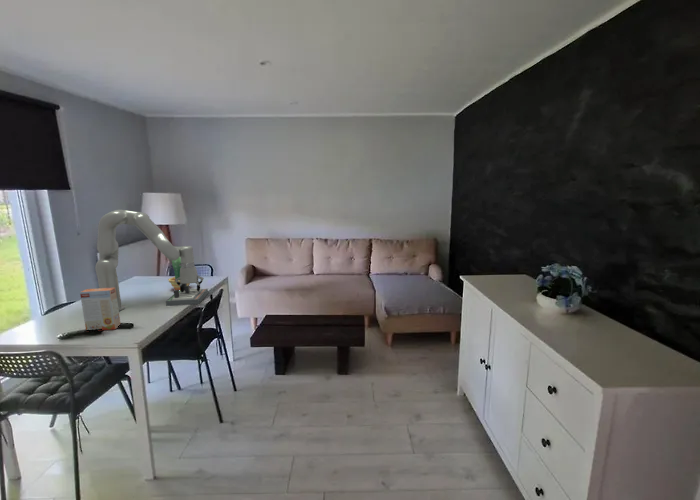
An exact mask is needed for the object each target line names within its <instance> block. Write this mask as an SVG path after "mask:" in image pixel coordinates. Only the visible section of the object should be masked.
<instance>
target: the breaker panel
mask: <svg viewBox="0 0 700 500" xmlns="http://www.w3.org/2000/svg"><path fill="white" fill-rule="evenodd" d="M183 286H184V291H183V292H181V291H179V290H173V294H172V295H171V296H170V297H169V298H168V299H166V300H165V306H166V307H171V306H185V305H187V306H189V305H190V306H191V305H199V304H200V303H201V302H202V301H203V300H204V298H205V297H206V296H207V295H208V294H209V289H208V288H202V287H200V290H199V291H197V287H195V288H189V289H190V292H189V293H185V286H187V284H183Z"/></svg>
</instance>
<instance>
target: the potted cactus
mask: <svg viewBox="0 0 700 500" xmlns="http://www.w3.org/2000/svg"><path fill="white" fill-rule="evenodd" d="M171 264H172V265H171V266H172V268H173V271H174V277H169V278H168V280H167V281H168V282H169V284H170V285H171V286H172V287H173V288H174V289H175V290H180V286H179V285H178V284H177V283H176V282H175V279H177V278H179V277H180V268H182V267H181V266H179V264H181V257H179V258H178V259H177V260H171ZM178 281H179V282H180V279H179V280H178ZM190 284H191V283H189V284H187V286H189V287H190ZM175 290H174V291H175Z"/></svg>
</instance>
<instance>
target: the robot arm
mask: <svg viewBox="0 0 700 500" xmlns="http://www.w3.org/2000/svg"><path fill="white" fill-rule="evenodd" d="M121 225H129V226H130V225H131V226H135V228H136V227H137V229H138V230H139V231H140V232H141V233H142V234H144V236H145V237H146V238H147V239H148V240H149V241H150V242H151V243H152V244H153V245H154V246H155V248H157V249H158V250H159V252H160V253H161V254H162V255H163V256H165V258H167V260H169V261H172V260H177V259H178V258H179V257H181V264H179V266H181V267H182V268H180V277H179V278H177V279H175V282H176V283H177V284H178V285H179V286H180V291H181V292H183V291H184V286H183V284H189V283H190V284H196V288H197V291H199V290H200V288H201V284H202V283H203V282H204V279H205V278H204V277H202V276H200V275H199V274H198V270H197V267H196V266H195V259H194V258H195V257H194V248H193V246H192V245H183V246H174V245H173V244H172V243H171V241H169V239H168V237H166V235H165V233H164V232H163V230H162V229H161V228H160V227H159V226H157V224H155V222H154V221H153V220H152V219H151V218H150V216H149V214H148V213H146V212H142V211H132V210H127V209H126V210H125V209H115V210H112V211H110V212H107V213H106V214H104V215H102V216H101V218H100V219H99V221H98V227H97V241H96V243H97V244H96V249H97V252H98V253H99V256H98V257H99V259H98V260H97V262H96V263H95V267H94V268H95V274H96V277H97V278H96V279H97V282H98V283H97V284H98V288H115V289H116V296H117V303H118V310H119V312H120V311H123V310H125V308H126V306H125V305H123V304H122V298H121V292H120V285H119V284H120V283H119V279H118V277H119V276H118V273H117V267H118V265H119V243H118V241H117V239H116V235H117V234H116V233H117V227H118V226H121ZM179 279H180V282H179V281H178V280H179ZM199 279H200V281H199ZM190 284H189V285H190Z"/></svg>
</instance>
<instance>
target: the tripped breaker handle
mask: <svg viewBox="0 0 700 500" xmlns="http://www.w3.org/2000/svg"><path fill="white" fill-rule="evenodd" d="M190 289H191V288H190V285H189V286H185V293H189V292H190Z"/></svg>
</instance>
